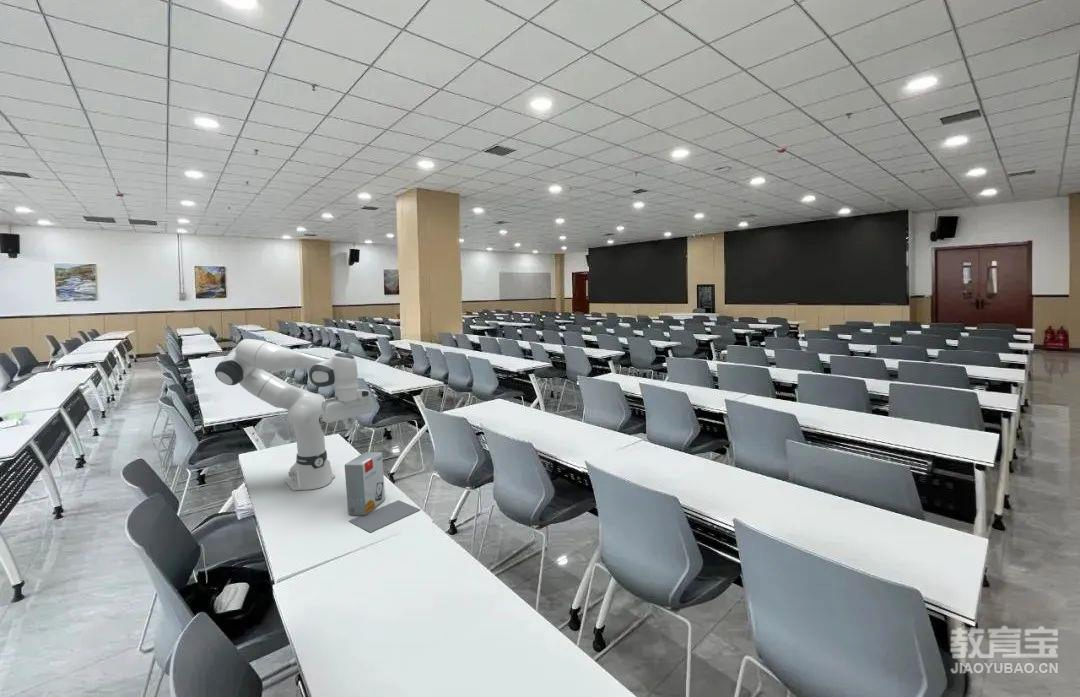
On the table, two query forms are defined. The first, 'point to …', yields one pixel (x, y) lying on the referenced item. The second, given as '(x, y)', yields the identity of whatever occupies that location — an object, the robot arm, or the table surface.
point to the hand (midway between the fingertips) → (349, 428)
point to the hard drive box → (364, 483)
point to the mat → (384, 516)
